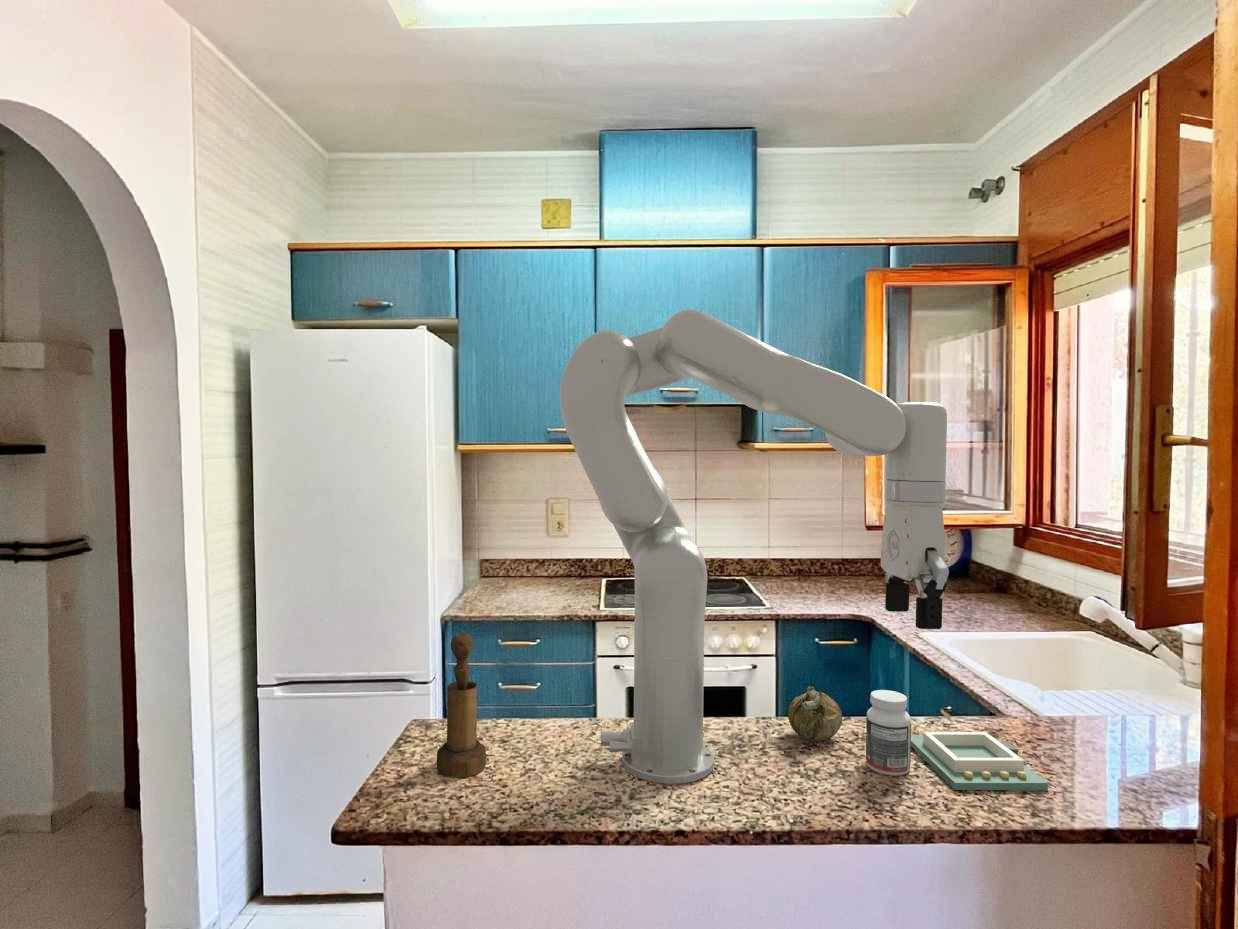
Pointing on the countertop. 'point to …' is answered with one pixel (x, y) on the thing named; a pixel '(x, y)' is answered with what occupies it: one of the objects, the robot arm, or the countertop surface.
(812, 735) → the onion
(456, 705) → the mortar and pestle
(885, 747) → the pill bottle
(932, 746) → the board
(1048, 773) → the countertop surface
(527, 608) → the countertop surface
